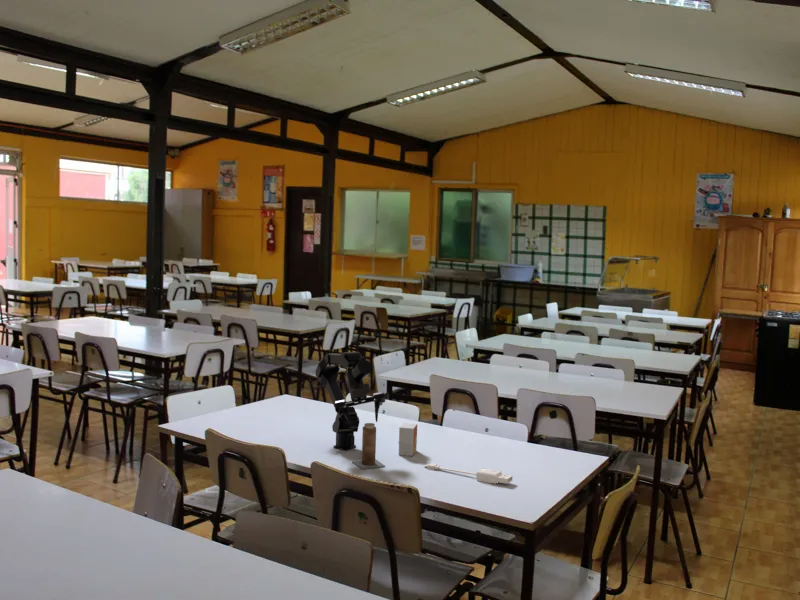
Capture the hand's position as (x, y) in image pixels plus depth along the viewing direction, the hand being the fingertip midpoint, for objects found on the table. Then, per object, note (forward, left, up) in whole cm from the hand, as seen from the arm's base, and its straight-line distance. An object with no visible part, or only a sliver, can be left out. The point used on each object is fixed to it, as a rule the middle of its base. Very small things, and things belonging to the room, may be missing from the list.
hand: (364, 424), depth 264 cm
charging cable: (+39, +6, -13) cm, 42 cm away
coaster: (+5, -4, -13) cm, 15 cm away
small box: (+8, +17, -13) cm, 23 cm away
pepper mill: (+5, -4, -12) cm, 14 cm away
